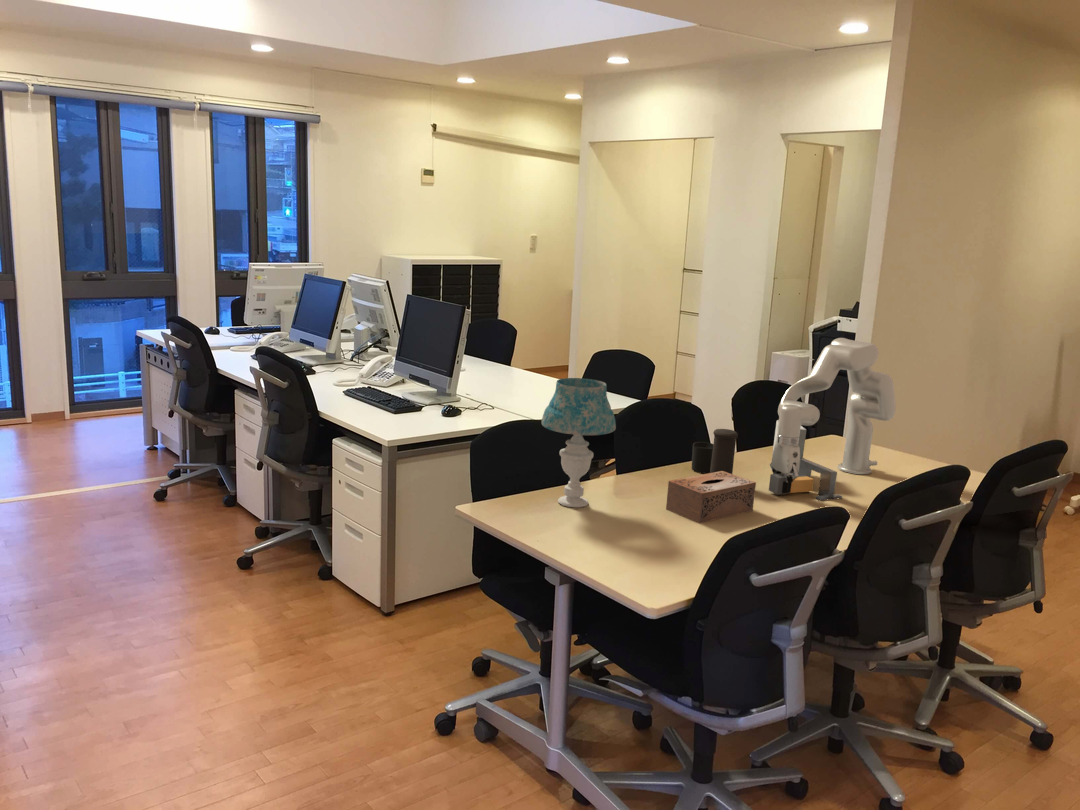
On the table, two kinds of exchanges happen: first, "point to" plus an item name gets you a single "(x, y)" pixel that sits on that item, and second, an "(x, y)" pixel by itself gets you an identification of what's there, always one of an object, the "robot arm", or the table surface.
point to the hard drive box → (801, 439)
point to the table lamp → (578, 428)
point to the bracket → (826, 478)
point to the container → (723, 450)
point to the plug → (797, 485)
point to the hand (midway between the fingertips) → (781, 489)
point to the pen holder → (702, 457)
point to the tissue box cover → (710, 496)
